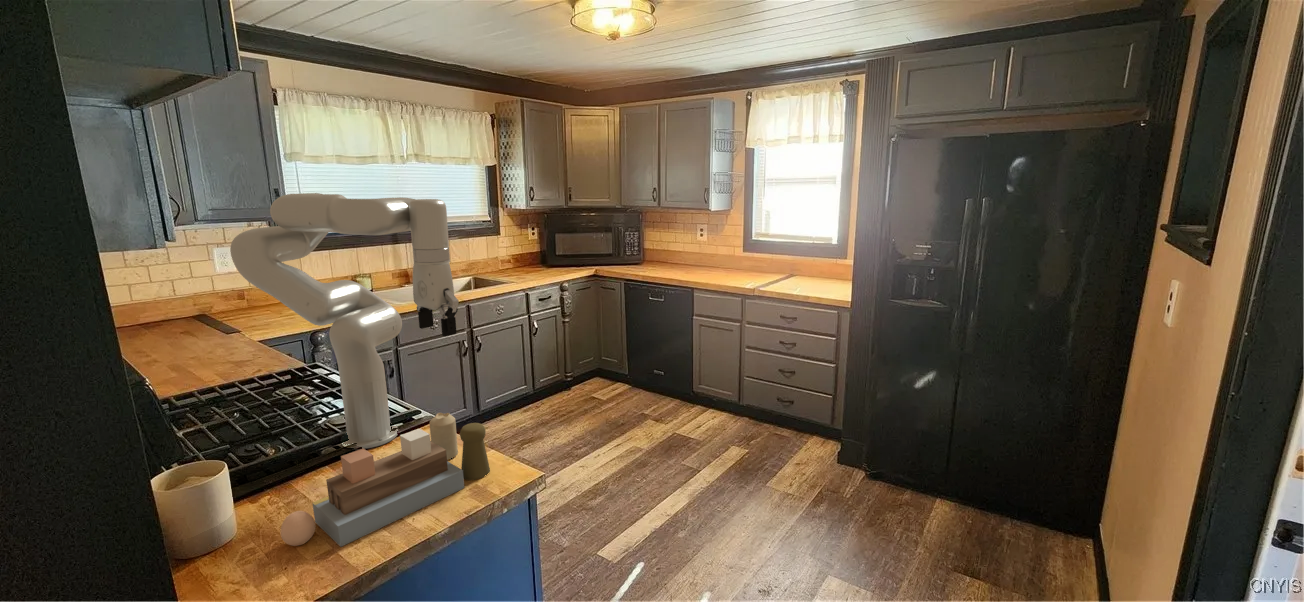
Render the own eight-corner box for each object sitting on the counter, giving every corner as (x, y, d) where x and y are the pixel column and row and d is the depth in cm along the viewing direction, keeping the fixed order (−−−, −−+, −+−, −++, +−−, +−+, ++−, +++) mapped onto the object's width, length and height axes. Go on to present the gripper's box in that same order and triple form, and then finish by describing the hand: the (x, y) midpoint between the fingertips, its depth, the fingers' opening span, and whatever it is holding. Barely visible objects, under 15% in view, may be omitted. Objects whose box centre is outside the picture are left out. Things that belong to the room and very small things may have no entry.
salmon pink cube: (343, 476, 101) (340, 456, 100) (365, 467, 104) (363, 448, 104) (352, 483, 99) (350, 463, 98) (375, 474, 102) (373, 454, 101)
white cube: (401, 453, 110) (400, 435, 109) (420, 446, 113) (419, 428, 112) (412, 460, 107) (410, 441, 106) (431, 452, 110) (429, 434, 109)
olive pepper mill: (472, 483, 115) (468, 434, 113) (455, 473, 119) (451, 426, 116) (496, 471, 120) (493, 424, 117) (479, 462, 123) (475, 417, 121)
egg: (310, 530, 100) (306, 500, 98) (322, 541, 96) (317, 511, 95) (278, 544, 96) (273, 513, 94) (289, 556, 93) (284, 525, 91)
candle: (428, 455, 126) (424, 414, 124) (450, 447, 130) (447, 407, 128) (439, 463, 123) (436, 422, 121) (462, 455, 127) (459, 414, 124)
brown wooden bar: (329, 501, 101) (326, 479, 100) (430, 459, 116) (429, 440, 115) (344, 515, 97) (341, 492, 96) (447, 470, 112) (446, 449, 111)
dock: (315, 522, 102) (312, 502, 101) (435, 470, 120) (434, 453, 119) (340, 546, 95) (337, 526, 94) (464, 487, 113) (462, 470, 112)
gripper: (395, 254, 124) (402, 327, 127) (436, 261, 113) (442, 342, 117) (427, 251, 129) (433, 321, 133) (469, 258, 119) (474, 334, 122)
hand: (437, 331), depth 125 cm, fingers open, 9 cm apart
